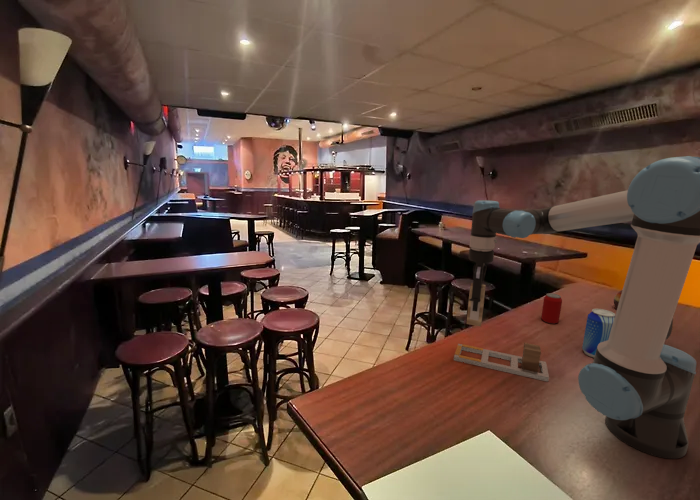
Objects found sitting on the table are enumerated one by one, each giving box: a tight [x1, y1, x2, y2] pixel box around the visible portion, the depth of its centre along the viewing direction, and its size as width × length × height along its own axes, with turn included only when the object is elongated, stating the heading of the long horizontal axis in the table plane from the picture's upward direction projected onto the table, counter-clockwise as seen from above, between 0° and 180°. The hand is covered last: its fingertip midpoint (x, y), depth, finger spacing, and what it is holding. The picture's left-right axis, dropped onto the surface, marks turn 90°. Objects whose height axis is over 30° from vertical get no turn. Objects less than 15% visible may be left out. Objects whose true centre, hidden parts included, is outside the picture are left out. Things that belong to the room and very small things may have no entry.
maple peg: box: [466, 282, 487, 327], centre depth 114 cm, size 4×4×13 cm
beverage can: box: [540, 292, 563, 325], centre depth 148 cm, size 7×7×12 cm
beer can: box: [581, 308, 616, 359], centre depth 120 cm, size 8×8×16 cm
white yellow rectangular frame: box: [453, 343, 550, 382], centre depth 114 cm, size 10×28×2 cm, turn 65°
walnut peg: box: [520, 342, 542, 373], centre depth 110 cm, size 4×4×8 cm
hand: (474, 316), depth 115 cm, fingers closed on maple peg, 5 cm apart
